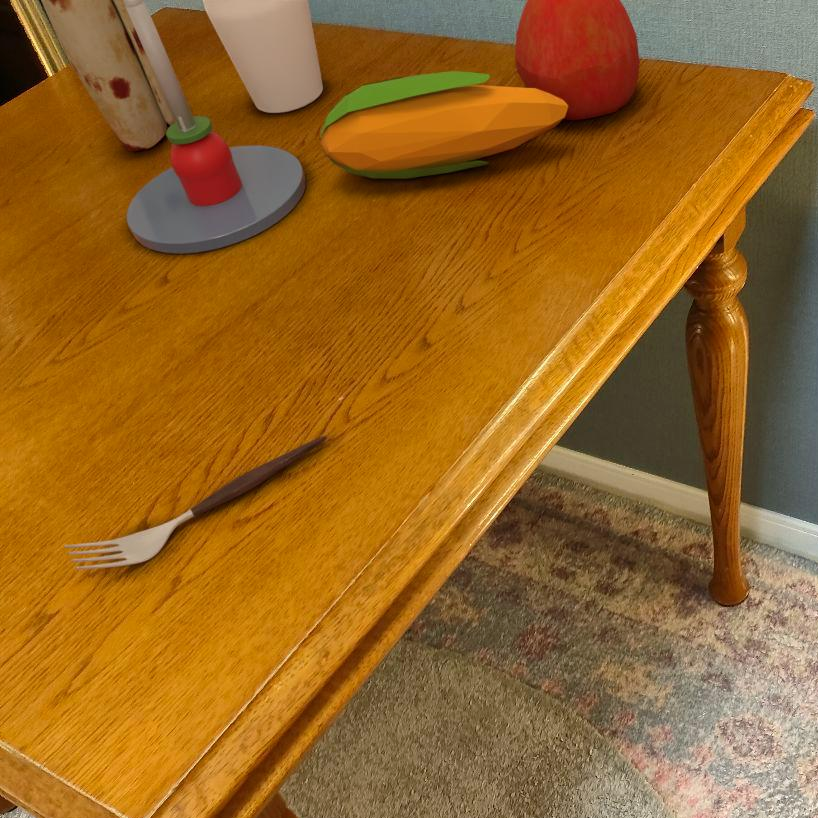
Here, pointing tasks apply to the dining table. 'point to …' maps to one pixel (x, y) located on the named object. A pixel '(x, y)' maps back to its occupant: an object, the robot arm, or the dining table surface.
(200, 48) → the dining table surface
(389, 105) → the corn
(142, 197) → the plate
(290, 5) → the cup
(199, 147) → the strawberry fork
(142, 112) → the food model
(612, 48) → the apple
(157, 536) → the fork
